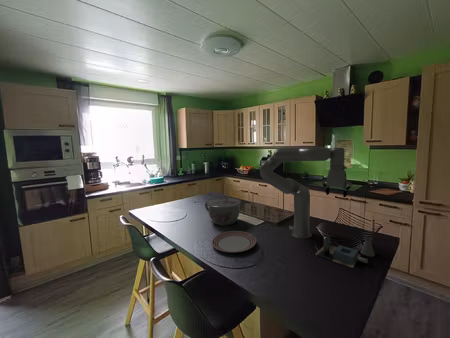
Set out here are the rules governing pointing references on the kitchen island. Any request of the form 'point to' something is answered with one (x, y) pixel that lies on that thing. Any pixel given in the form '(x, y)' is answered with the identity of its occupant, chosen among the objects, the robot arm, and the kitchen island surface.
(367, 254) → the flask
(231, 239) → the dinner plate
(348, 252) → the block
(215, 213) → the chamber pot
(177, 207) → the kitchen island surface
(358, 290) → the kitchen island surface
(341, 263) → the bench board
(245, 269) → the kitchen island surface
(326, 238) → the key peg
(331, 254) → the rubber pad
